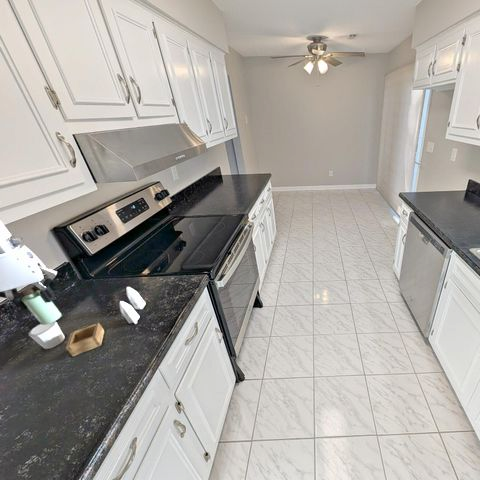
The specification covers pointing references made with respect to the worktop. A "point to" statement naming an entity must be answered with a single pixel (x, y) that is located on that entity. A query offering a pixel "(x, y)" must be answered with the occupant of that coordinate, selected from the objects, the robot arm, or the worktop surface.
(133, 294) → the shaker set
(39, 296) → the bottle
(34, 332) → the white cup
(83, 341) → the box
